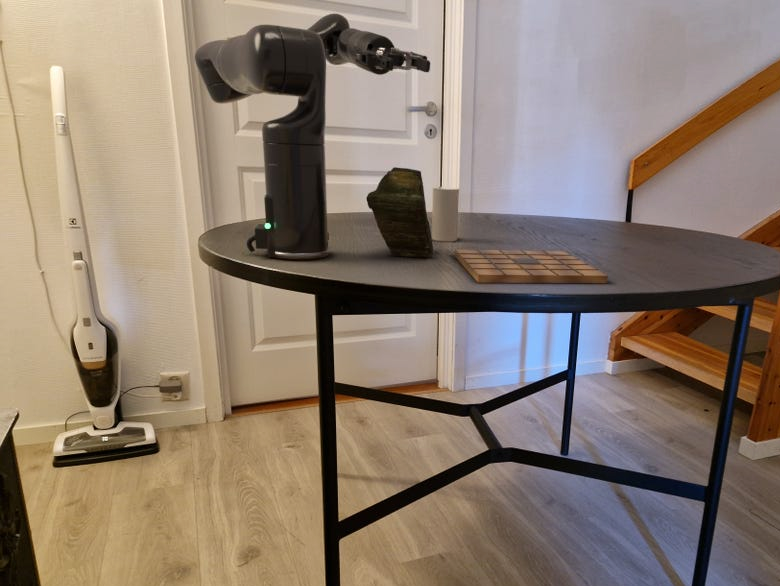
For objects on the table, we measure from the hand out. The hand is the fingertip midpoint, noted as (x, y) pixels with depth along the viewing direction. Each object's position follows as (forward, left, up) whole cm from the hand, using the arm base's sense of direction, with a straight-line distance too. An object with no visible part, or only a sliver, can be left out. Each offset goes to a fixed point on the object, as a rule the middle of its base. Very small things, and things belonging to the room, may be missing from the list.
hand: (410, 66), depth 123 cm
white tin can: (+6, -12, -32) cm, 35 cm away
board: (+15, -40, -32) cm, 53 cm away
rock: (-4, -29, -33) cm, 44 cm away
